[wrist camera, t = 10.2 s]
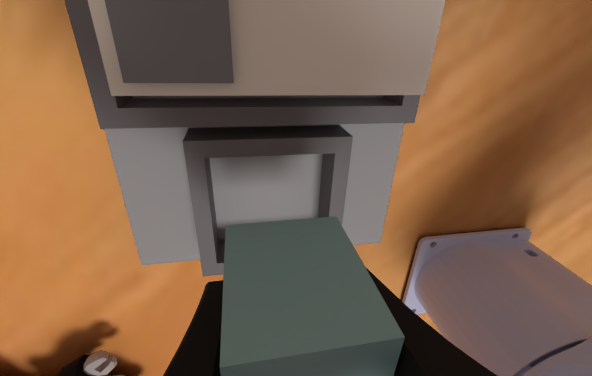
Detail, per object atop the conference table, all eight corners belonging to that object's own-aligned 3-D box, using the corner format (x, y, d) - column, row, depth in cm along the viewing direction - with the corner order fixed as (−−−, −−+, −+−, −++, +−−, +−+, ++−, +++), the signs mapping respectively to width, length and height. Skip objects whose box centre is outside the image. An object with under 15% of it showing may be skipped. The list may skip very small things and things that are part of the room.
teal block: (336, 216, 11) (404, 337, 7) (327, 294, 13) (377, 429, 8) (225, 225, 10) (219, 367, 6) (233, 306, 12) (233, 461, 8)
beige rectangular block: (380, -21, 13) (463, -52, 8) (367, 76, 15) (429, 96, 10) (132, -38, 11) (58, -91, 6) (153, 75, 13) (107, 97, 8)
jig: (432, -82, 13) (483, -112, 10) (374, 233, 21) (394, 262, 18) (47, -127, 10) (-16, -181, 8) (146, 254, 18) (131, 291, 15)
